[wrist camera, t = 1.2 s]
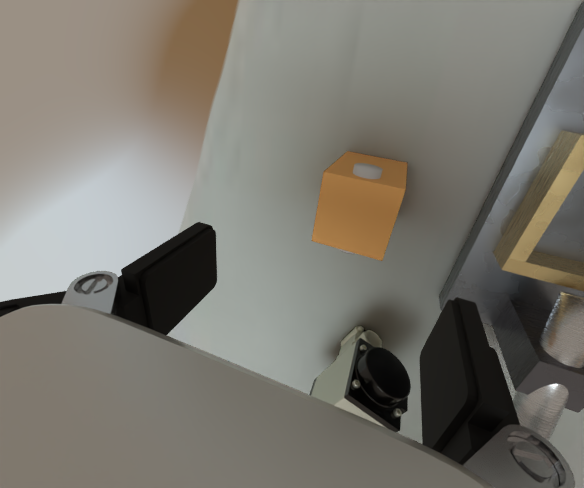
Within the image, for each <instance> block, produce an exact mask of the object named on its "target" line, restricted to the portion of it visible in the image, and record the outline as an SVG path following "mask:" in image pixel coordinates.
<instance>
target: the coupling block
mask: <svg viewBox="0 0 584 488" xmlns="http://www.w3.org/2000/svg"><path fill="white" fill-rule="evenodd" d="M406 178H407V163H406V162H400V161H395V160H390V159H385V158H380V157H375V156H369V155H364V154H359V153H354V152H349V151H347V152H346V153H345V154H344V155H343V156H341V157H340V158H339V159H338V160H337V161H336V162H334V163H333V164H332V165H331V166H330V167H329V168H327V169H326V170H325V171H324V173H323V178H322V184H321V190H320V195H319V201H318V207H317V213H316V218H315V224H314V230H313V235H312V241H314V242H317V243H321V244H324V245H328V246H331V247H335V248H338V249H339V250H341V251H343V252H345V253H350V254H355V253H356V254H360V255H363V256H367V257H370V258H374V259H377V260H381V261H382V260H383V257H384V254H385V251H386V248H387V245H388V242H389V239H390V236H391V233H392V230H393V227H394V224H395V221H396V218H397V215H398V212H399V209H400V206H401V202H402V199H403V196H404V193H405V190H406Z"/></svg>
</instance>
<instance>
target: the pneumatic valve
mask: <svg viewBox="0 0 584 488" xmlns="http://www.w3.org/2000/svg"><path fill="white" fill-rule="evenodd" d="M363 330H364V328H363V327H362V326H356V327H355V328H354V329H353V330H352V331H351V332H350V333H349V334H348V335H347V336H346V337H345V338H344V339H343V340H342V341H341V349H340V352H339V355H338V356H337V357H336V360H335V361H334V362H333V363H332V364H331V365H330V366H329V367H328V368H327V369H326V370H325V371H323V372H322V373H321V374H320V375H319V376H318V377H317V378H316V379H315V380H314V383H313V386H312V389H311V391H310V394H309V395H310V396H313V397H315V398H317V399H320V400H322V401H325V402H327V403H329V404H332V405H334V406H336V407H339V408H341V409H343V410H346V411H348V412H350V413H353V414H355V415H358V416H360V417H362V418H365V419H367V420H369V421H371V422H374V423H376V424H378V425H380V426H383V427H385V428H387V429H389V430H392V431H394V432H398V431H400V419H401V415H402V414H403V413H405V412H406V411H407V400H408V395H409V393H410V388H411V385H410V379H409V376H408V373H407V371H406V369H405V368H404V366H403V364H402V363H401V362H400V361H399V359H398V358H397V357H396V356H395V355H393V354H392V353H391V352H390V351H388V350H386V349H384V348H381V347H382V340H381V339H380V338H379V336H378V335H377V334H376V333H375V332H373V331H371V330H367V331H365V332H364V331H363Z"/></svg>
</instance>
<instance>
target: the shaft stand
mask: <svg viewBox="0 0 584 488" xmlns="http://www.w3.org/2000/svg"><path fill="white" fill-rule="evenodd" d="M457 297H458V298H462V299H465V300H468V301H472V302H475V303H476V305H477V308H478V311H479V315H480V318H481V321H482V323H486V324H489V325H492V326H493V328H494V331H495V334H496V337H497V340H498V343H499V345H500V348H501V351H502V354H503V357H504V360H505V362H506V365H507V368H508V371H509V374H510V377H511V380H512V382H513V385H514V388H515V390H516V391H517V392H516V394H515V396H514V399H513V404H514V407H515V410H516V413H517V416H518V419H519V422H520V425H521V426H523V427H527V428H529V429H531V430H533V431H534V432H536V433H538V434H540V435H541V436H542V437H543V438H545V439H546V440H547V441H549V440H550V437H551V435H552V433H553V431H554V429H555V427H556V425H557V423H558V421H559V419H560V416H561V414H562V412H563V410H564V408H567V409H569V410H572V411H575V412H580V411H581V410H582V409H583V408H584V2H583V3H582V4H581V6H580V8H579V10H578V12H577V14H576V16H575V18H574V20H573V22H572V24H571V27H570V29H569V31H568V33H567V35H566V37H565V39H564V41H563V43H562V45H561V47H560V49H559V51H558V53H557V55H556V57H555V59H554V61H553V64H552V66H551V68H550V70H549V72H548V74H547V76H546V78H545V80H544V82H543V84H542V86H541V88H540V90H539V92H538V94H537V96H536V99H535V101H534V103H533V105H532V107H531V109H530V111H529V113H528V115H527V117H526V119H525V121H524V123H523V125H522V127H521V129H520V131H519V133H518V136H517V138H516V140H515V142H514V144H513V146H512V148H511V150H510V152H509V154H508V156H507V158H506V160H505V162H504V164H503V166H502V168H501V170H500V173H499V175H498V177H497V179H496V181H495V183H494V185H493V187H492V189H491V191H490V193H489V195H488V197H487V199H486V201H485V203H484V205H483V208H482V210H481V212H480V214H479V216H478V218H477V220H476V222H475V224H474V226H473V228H472V230H471V232H470V234H469V236H468V238H467V240H466V242H465V245H464V247H463V249H462V251H461V253H460V255H459V257H458V259H457V261H456V263H455V265H454V267H453V269H452V271H451V273H450V275H449V277H448V280H447V282H446V284H445V286H444V288H443V290H442V292H441V294H440V296H439V299H440V306H441V310H443V308H444V306H445V305H446V303H447V301H448V300H449V299H450V300H454V299H455V298H457Z"/></svg>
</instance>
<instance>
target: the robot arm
mask: <svg viewBox="0 0 584 488" xmlns="http://www.w3.org/2000/svg"><path fill="white" fill-rule="evenodd" d="M121 272H122V275H121V276H120V277H117V275H116V274H114V273H112V272H107V271H97V272H91V273H88V274H85V275H82V276H80V277H79V278H77V279H75V280H74V281H73V282H72V283H71V284H70V286H69V288H68V290H67V291H64V292H57V293H51V294H44V295H38V296H32V297H25V298H19V299H13V300H9V301H3V302H0V488H574V486H575V482H574V476H573V473H572V471H571V469H570V467H569V465H568V463H567V462H566V460H565V459H564V458H563V456H562V455H561V454H560V452H559V451H558V450H557V449H556V448H555V447H554V446H553V445H552V444H551V443H550V442H549V441H547V440H546V439H545V438H543V437H542V436H541V435H540V434H538V433H536V432H534V431H533V430H531V429H529V428H527V427H523V426H521V425H520V422H519V419H518V416H517V413H516V410H515V407H514V404H513V401H512V398H511V395H510V392H509V389H508V386H507V383H506V380H505V377H504V374H503V371H502V368H501V365H500V362H499V359H498V355H497V353H496V351H495V350H494V349H493V348H491V347H489V344H488V341H487V337H486V334H485V331H484V328H483V324H482V321H481V318H480V315H479V311H478V308H477V305H476V303H475V302H472V301H468V300H465V299H462V298H458V297H457V298H455V299H454V300H450V299H449V300H448V301H447V303H446V305H445V306H444V308H443V310H442V312H441V314H440V316H439V318H438V320H437V322H436V324H435V326H434V328H433V330H432V332H431V334H430V336H429V337H428V339H427V341H426V343H425V345H424V347H423V349H422V351H421V355H420V381H421V409H422V437H423V445H422V444H420V443H418V442H416V441H414V440H412V439H410V438H407V437H405V436H403V435H401V434H398V433H396V432H394V431H392V430H389V429H387V428H385V427H383V426H380V425H378V424H376V423H374V422H371V421H369V420H367V419H365V418H362V417H360V416H358V415H355V414H353V413H350V412H348V411H346V410H343V409H341V408H339V407H336V406H334V405H332V404H329V403H327V402H325V401H322V400H320V399H317V398H315V397H313V396H310V395H308V394H306V393H303V392H301V391H299V390H296V389H294V388H292V387H289V386H287V385H284V384H282V383H280V382H277V381H275V380H272V379H270V378H268V377H265V376H263V375H261V374H258V373H256V372H253V371H251V370H249V369H246V368H244V367H241V366H239V365H237V364H234V363H232V362H229V361H227V360H225V359H222V358H220V357H217V356H215V355H213V354H210V353H208V352H205V351H203V350H200V349H198V348H196V347H193V346H191V345H188V344H186V343H183V342H181V341H178V340H176V339H174V338H171V337H169V336H166V335H167V334H168V333H169V332H170V331H171V330H172V329H173V328H174V327H175V326H176V325H177V324H178V323H179V322H180V321H181V320H182V319H183V318H184V317H185V316H186V315H187V314H188V313H189V312H190V311H191V310H192V309H193V308H194V307H195V306H196V305H197V304H198V303H199V302H200V301H201V300H202V299H203V298H204V297H205V296H206V295H207V294H208V293H209V292H210V291H211V290H212V289H213V288H214V287H215V285H216V282H217V264H216V232H215V230H213V228H212V226H211V225H207V224H204V223H201V222H198V223H196V224H194V225H192V226H191V227H189V228H187V229H186V230H184V231H183V232H181V233H179V234H178V235H176V236H175V237H173V238H171V239H170V240H168V241H166V242H165V243H163V244H162V245H160V246H159V247H157V248H155V249H154V250H152V251H150V252H149V253H147V254H145V255H144V256H142V257H141V258H139V259H137V260H136V261H134V262H133V263H131V264H129V265H128V266H126V267H124V268H123V269H122V270H121Z"/></svg>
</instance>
